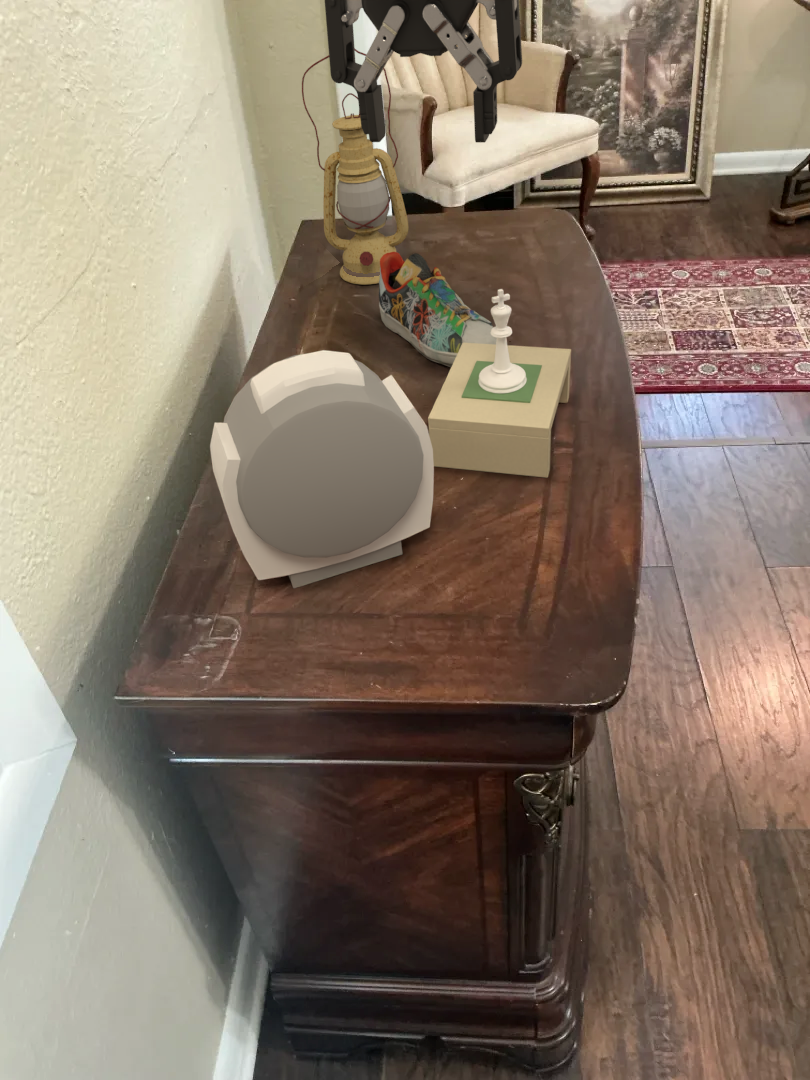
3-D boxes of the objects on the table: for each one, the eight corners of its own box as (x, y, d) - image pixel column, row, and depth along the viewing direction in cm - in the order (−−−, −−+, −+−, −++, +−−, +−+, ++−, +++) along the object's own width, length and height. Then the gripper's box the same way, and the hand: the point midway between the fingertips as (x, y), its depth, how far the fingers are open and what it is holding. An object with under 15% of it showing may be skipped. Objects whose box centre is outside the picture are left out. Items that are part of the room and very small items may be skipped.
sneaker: (471, 385, 100) (466, 308, 94) (364, 326, 114) (354, 254, 107) (519, 361, 103) (517, 284, 97) (409, 306, 117) (402, 235, 110)
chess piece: (534, 386, 88) (535, 295, 81) (489, 398, 87) (486, 306, 80) (515, 364, 91) (514, 274, 84) (471, 375, 90) (467, 285, 84)
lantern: (327, 290, 122) (288, 54, 102) (333, 260, 130) (298, 34, 110) (411, 284, 121) (389, 44, 101) (412, 254, 129) (392, 25, 109)
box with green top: (569, 396, 97) (571, 347, 93) (547, 478, 86) (548, 426, 82) (464, 388, 100) (462, 340, 96) (432, 466, 89) (427, 416, 85)
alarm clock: (414, 500, 85) (394, 314, 72) (446, 553, 79) (431, 360, 66) (238, 554, 82) (181, 368, 69) (257, 613, 76) (199, 422, 62)
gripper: (292, -101, 56) (329, 156, 67) (507, -119, 53) (510, 156, 63) (331, -116, 62) (359, 124, 73) (529, -133, 58) (528, 123, 69)
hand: (429, 139), depth 68 cm, fingers open, 8 cm apart
